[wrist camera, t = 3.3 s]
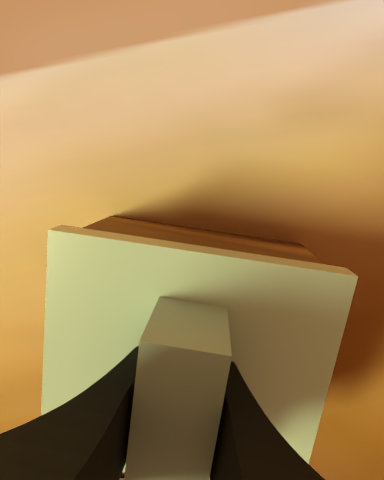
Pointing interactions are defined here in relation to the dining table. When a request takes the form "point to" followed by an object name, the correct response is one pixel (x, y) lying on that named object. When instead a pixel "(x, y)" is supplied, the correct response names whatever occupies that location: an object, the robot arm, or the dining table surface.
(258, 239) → the crate
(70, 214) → the dining table surface
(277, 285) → the lid
